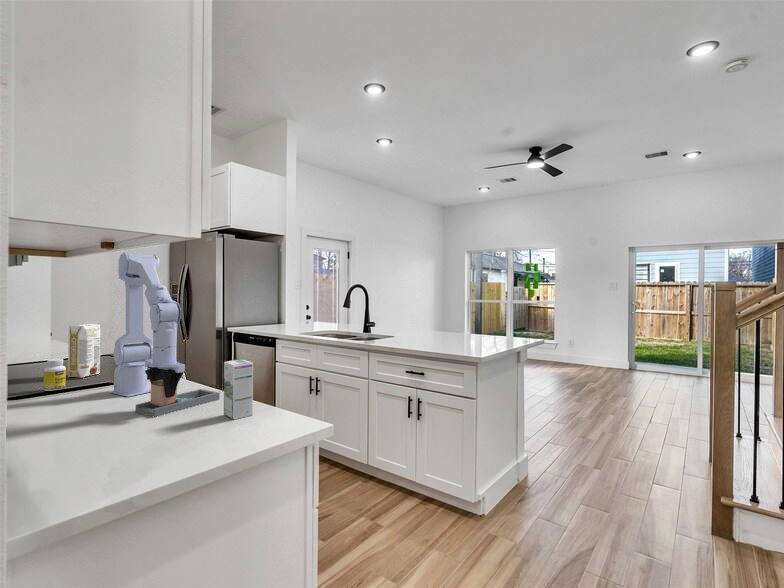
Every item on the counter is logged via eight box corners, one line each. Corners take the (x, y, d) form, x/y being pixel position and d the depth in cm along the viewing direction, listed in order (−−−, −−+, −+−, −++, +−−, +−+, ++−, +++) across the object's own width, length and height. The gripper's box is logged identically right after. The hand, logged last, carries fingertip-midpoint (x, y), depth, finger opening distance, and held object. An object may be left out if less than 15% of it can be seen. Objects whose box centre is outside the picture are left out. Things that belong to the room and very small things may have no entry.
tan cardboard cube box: (150, 403, 110) (150, 381, 110) (166, 399, 114) (166, 378, 114) (160, 405, 108) (161, 383, 108) (176, 402, 112) (176, 380, 112)
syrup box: (253, 415, 108) (254, 361, 108) (232, 420, 104) (233, 364, 104) (243, 410, 112) (244, 358, 112) (222, 415, 108) (223, 361, 107)
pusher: (164, 404, 115) (164, 396, 115) (180, 400, 119) (181, 392, 119) (177, 408, 112) (178, 399, 112) (194, 403, 116) (194, 395, 116)
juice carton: (103, 374, 151) (104, 324, 151) (81, 379, 143) (82, 326, 143) (86, 373, 153) (87, 323, 152) (64, 378, 144) (64, 325, 144)
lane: (135, 411, 109) (135, 404, 109) (200, 395, 127) (200, 388, 126) (155, 417, 105) (155, 409, 105) (219, 399, 123) (219, 392, 123)
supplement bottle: (55, 392, 125) (56, 361, 125) (38, 392, 125) (39, 361, 125) (70, 388, 131) (70, 358, 131) (53, 388, 131) (53, 358, 131)
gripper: (134, 345, 111) (133, 394, 111) (167, 350, 104) (167, 402, 104) (159, 342, 117) (158, 389, 117) (192, 347, 111) (191, 396, 111)
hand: (164, 395), depth 111 cm, fingers closed on tan cardboard cube box, 4 cm apart
